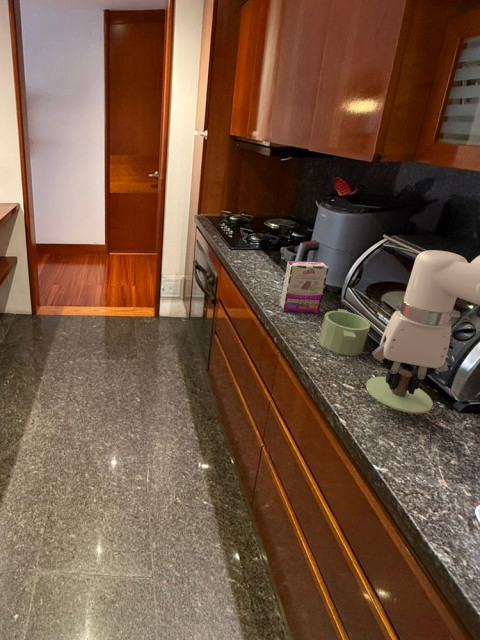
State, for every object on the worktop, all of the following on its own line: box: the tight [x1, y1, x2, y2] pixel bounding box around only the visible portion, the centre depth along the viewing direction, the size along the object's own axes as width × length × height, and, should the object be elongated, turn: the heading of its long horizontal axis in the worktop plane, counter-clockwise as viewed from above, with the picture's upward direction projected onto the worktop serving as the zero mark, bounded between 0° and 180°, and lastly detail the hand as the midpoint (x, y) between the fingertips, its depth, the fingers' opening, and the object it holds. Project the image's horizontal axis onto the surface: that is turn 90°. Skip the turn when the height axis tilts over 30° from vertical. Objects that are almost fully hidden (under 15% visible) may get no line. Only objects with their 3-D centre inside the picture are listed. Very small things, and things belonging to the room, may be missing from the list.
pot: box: [318, 308, 372, 356], centre depth 107 cm, size 11×16×8 cm, turn 156°
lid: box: [365, 369, 434, 414], centre depth 83 cm, size 12×12×6 cm
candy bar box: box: [279, 260, 329, 314], centre depth 127 cm, size 11×5×16 cm, turn 81°
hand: (400, 387), depth 83 cm, fingers closed on lid, 2 cm apart
